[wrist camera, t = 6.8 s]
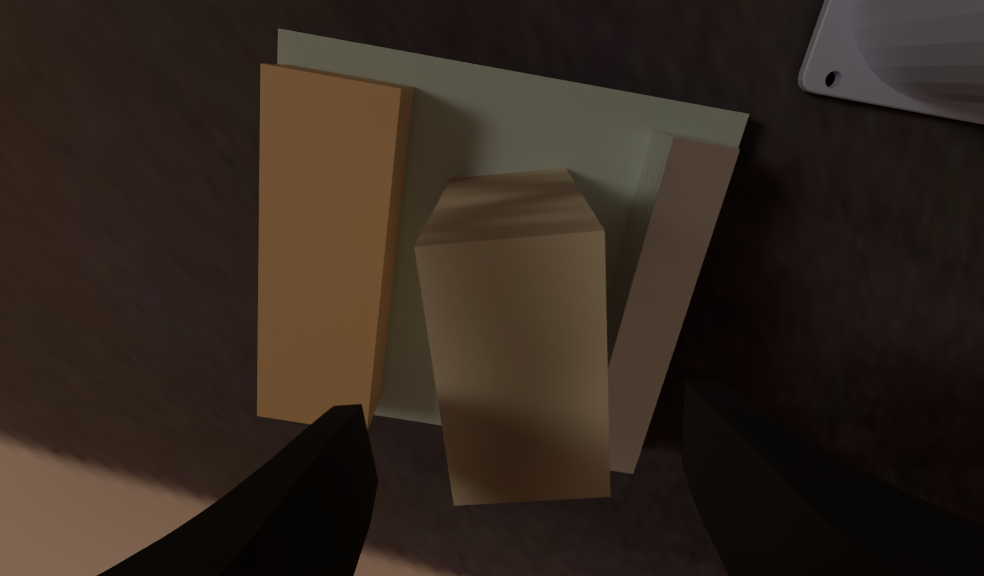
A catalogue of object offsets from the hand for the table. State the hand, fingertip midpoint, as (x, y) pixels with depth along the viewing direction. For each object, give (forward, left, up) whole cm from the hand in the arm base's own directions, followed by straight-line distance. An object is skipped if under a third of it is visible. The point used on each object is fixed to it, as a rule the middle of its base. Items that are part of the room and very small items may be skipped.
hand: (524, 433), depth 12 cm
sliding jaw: (+6, 0, -9) cm, 11 cm away
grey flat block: (+1, 0, -10) cm, 10 cm away
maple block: (0, 0, -9) cm, 9 cm away
